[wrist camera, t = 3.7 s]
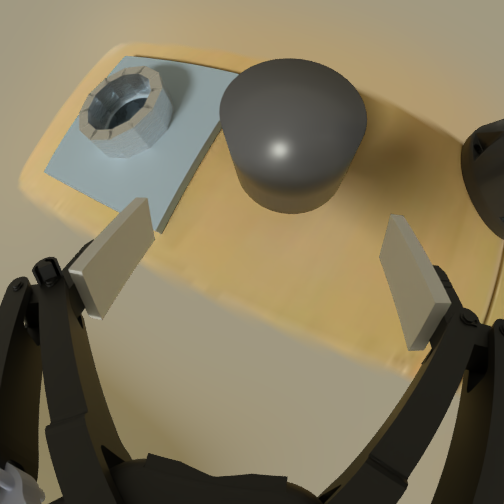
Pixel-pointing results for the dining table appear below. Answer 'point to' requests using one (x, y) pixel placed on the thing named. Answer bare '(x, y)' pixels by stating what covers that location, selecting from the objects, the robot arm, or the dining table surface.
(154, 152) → the board
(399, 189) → the dining table surface
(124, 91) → the pale grey faceted ring
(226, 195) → the dining table surface
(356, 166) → the dining table surface
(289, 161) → the dome-topped grey cylinder
